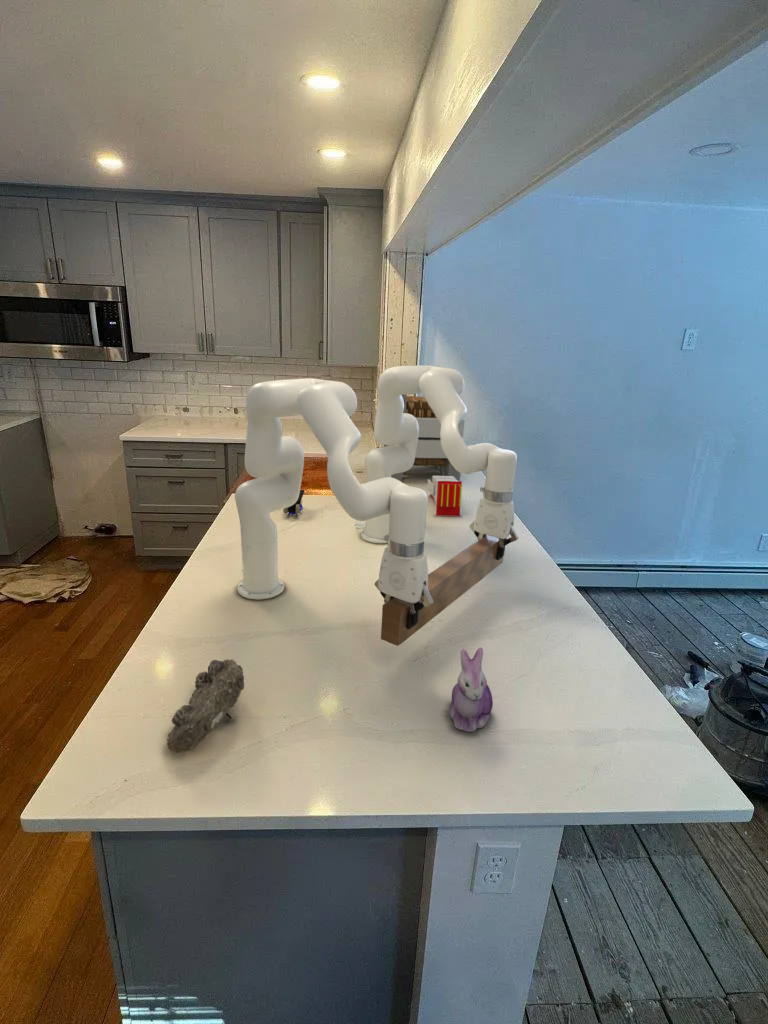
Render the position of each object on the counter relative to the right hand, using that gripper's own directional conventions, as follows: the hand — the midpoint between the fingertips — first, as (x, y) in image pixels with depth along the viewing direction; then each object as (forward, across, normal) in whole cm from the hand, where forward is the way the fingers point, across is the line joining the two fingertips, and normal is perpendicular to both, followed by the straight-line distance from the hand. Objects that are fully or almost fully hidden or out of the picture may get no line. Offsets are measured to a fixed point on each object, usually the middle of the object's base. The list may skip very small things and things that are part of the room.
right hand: (490, 555), depth 161 cm
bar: (+3, 0, -23) cm, 24 cm away
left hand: (0, 0, -47) cm, 47 cm away
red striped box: (+10, -46, +56) cm, 73 cm away
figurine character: (+11, -84, +9) cm, 85 cm away
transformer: (+11, -77, +90) cm, 119 cm away
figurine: (+10, +21, -54) cm, 58 cm away
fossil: (+10, -18, -84) cm, 86 cm away
